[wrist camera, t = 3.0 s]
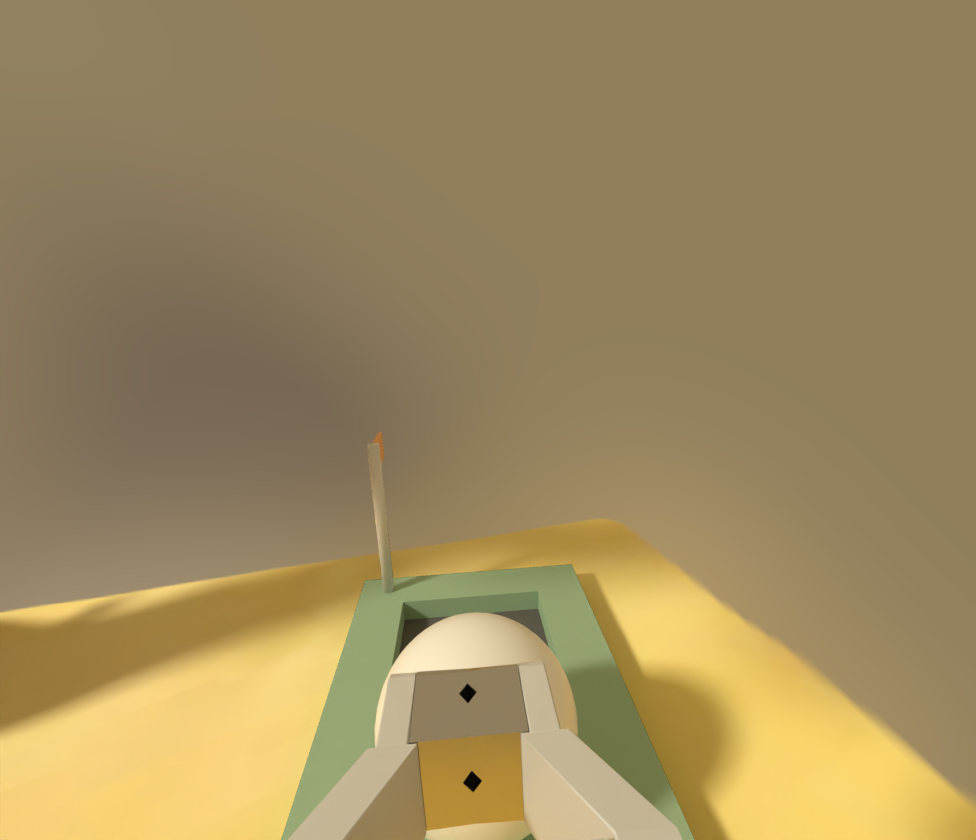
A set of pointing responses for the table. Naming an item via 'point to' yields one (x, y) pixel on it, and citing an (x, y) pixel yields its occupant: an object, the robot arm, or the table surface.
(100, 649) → the table surface
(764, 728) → the table surface
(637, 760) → the putting mat
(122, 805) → the table surface
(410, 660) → the ball
